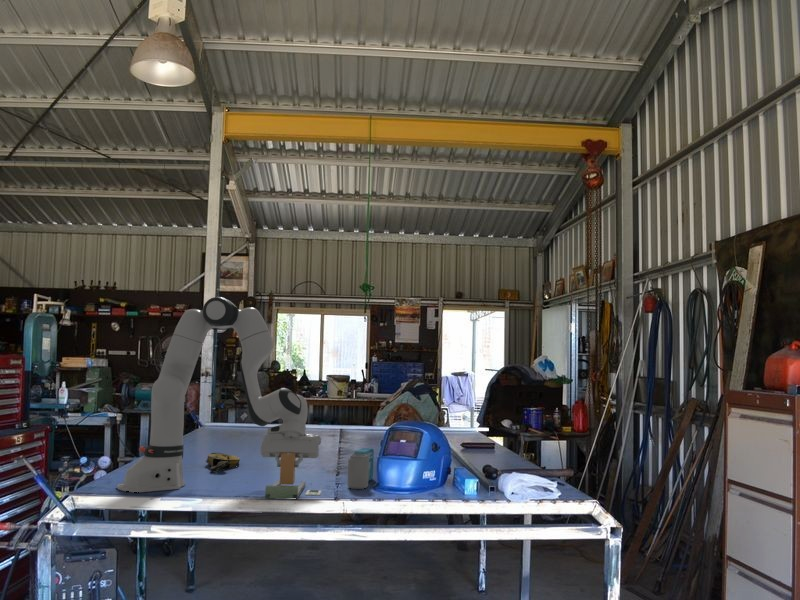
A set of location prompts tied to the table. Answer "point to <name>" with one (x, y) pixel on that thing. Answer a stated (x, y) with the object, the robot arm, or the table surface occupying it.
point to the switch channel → (287, 491)
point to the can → (358, 471)
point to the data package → (370, 455)
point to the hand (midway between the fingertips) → (287, 466)
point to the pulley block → (222, 461)
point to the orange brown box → (287, 468)
